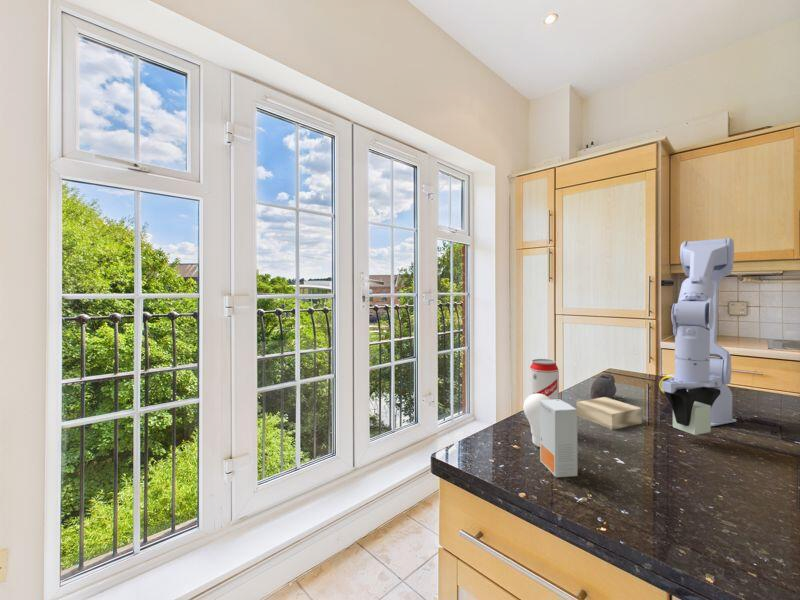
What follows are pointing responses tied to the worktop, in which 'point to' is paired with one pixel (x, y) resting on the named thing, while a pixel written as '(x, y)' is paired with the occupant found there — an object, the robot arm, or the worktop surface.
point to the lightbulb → (534, 415)
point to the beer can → (544, 378)
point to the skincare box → (558, 437)
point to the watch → (663, 379)
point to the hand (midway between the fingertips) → (691, 422)
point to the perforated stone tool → (603, 387)
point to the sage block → (697, 420)
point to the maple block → (609, 412)
